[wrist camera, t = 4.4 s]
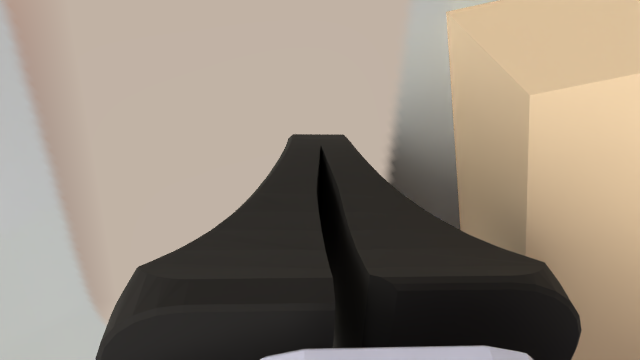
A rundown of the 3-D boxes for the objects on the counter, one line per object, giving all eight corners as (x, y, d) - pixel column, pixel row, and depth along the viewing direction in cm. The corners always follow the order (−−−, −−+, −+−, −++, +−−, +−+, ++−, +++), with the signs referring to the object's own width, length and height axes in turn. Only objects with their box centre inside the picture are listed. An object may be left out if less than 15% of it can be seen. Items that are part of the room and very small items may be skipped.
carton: (684, 247, 16) (827, 390, 12) (462, 287, 16) (522, 438, 12) (760, -59, 11) (1051, -6, 7) (443, 9, 12) (532, 97, 7)
